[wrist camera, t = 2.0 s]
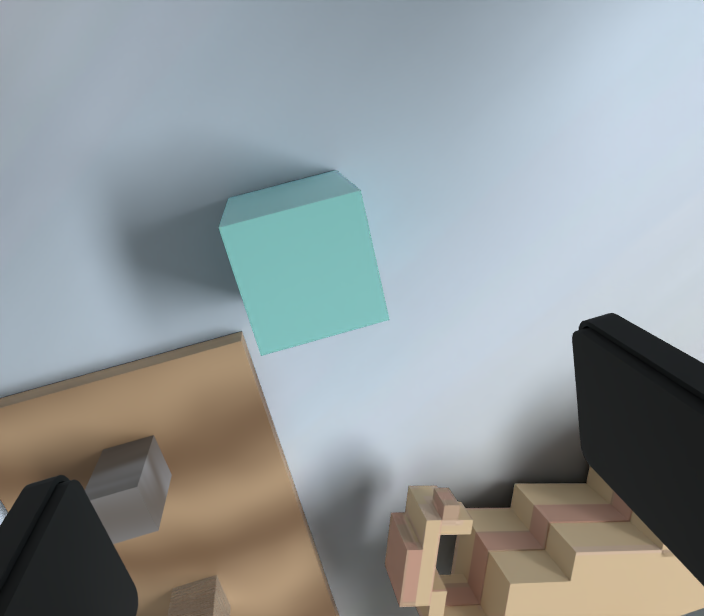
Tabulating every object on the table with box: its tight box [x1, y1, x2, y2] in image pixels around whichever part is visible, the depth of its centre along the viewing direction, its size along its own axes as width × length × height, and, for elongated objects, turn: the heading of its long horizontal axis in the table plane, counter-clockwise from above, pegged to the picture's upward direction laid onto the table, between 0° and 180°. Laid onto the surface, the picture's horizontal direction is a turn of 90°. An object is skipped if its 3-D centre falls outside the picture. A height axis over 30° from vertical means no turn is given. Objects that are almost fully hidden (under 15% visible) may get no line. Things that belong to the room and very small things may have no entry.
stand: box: [0, 331, 339, 616], centre depth 29 cm, size 22×14×5 cm, turn 13°
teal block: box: [219, 170, 389, 356], centre depth 23 cm, size 5×5×7 cm
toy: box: [385, 466, 704, 616], centre depth 31 cm, size 10×20×20 cm
